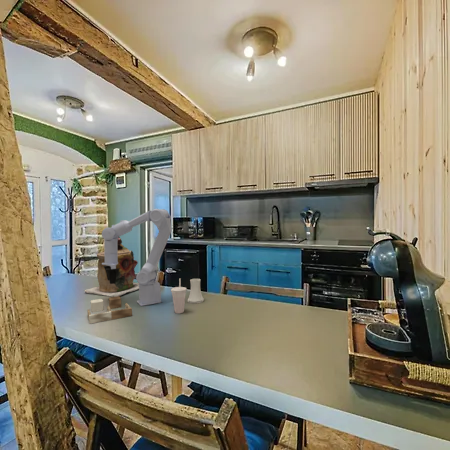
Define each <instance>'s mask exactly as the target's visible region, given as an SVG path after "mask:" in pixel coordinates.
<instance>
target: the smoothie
mask: <svg viewBox="0 0 450 450" xmlns="http://www.w3.org/2000/svg"><path fill="white" fill-rule="evenodd" d="M181 279H182V278H179V279H178V281H179V283H178V284H179V285H178V286H175V287H172V288H171V290H170V292H171V296H172V304H173V309H174V313H175V314H183V313H184V312H185V302H186V292H187V291H188V290H187V287H186V286H185V287H183V286H181V284H182V283H181V282H182V281H181Z"/></svg>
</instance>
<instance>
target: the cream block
mask: <svg viewBox="0 0 450 450" xmlns="http://www.w3.org/2000/svg"><path fill="white" fill-rule="evenodd" d="M101 311H103V312H104V300H103V299H102V298H98V299H92V300H90V312H91V313H95V312H101Z"/></svg>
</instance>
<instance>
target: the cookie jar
mask: <svg viewBox="0 0 450 450" xmlns="http://www.w3.org/2000/svg"><path fill="white" fill-rule="evenodd" d="M122 243H123V241H122V238H121V236H119V238H118V242H117V246H118V264H117V265H116V268H119V271H118V274H117V277H116V282H115V284H110V281H108V279H107V275H106V271H105V268H104V267H103V266H107V265H102V263H105V257H104V251H102V252H98V253H97V254H96V257H97V258H98V263H97V281H98V286H94V287H91V288H87V289H85V290H83V291H84V293H86V294H94V295H98V296H105V297H117V296H120V297H121V296H122V295H125V294H127V293H131V292H132V293H133V292H134V291H137V290H139V283H138V282H134V280H135V279H136V272H135V268H136V267H137V265H138V263H139V262H138V261H137V260H136V259H135V257H134V255H135V254H134V251H133V250H130V249H128V248H127V247H125V246H124V245H123V244H122Z"/></svg>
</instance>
